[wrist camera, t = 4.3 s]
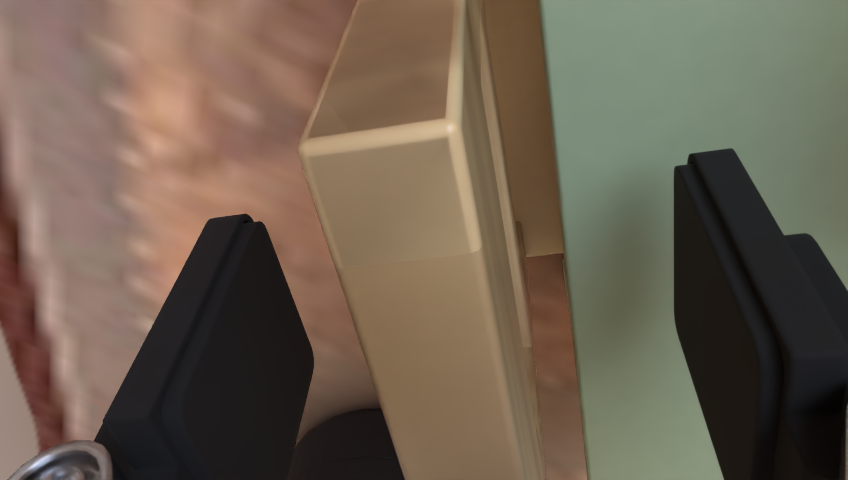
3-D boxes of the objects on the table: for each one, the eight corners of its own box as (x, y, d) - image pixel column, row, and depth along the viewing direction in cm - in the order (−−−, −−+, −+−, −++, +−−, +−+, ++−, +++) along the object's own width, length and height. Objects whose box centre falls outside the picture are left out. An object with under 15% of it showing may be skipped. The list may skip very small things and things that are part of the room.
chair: (872, -258, 16) (2226, -141, 4) (825, 114, 21) (1324, 697, 9) (421, -163, 18) (290, 147, 5) (478, 163, 23) (479, 715, 10)
